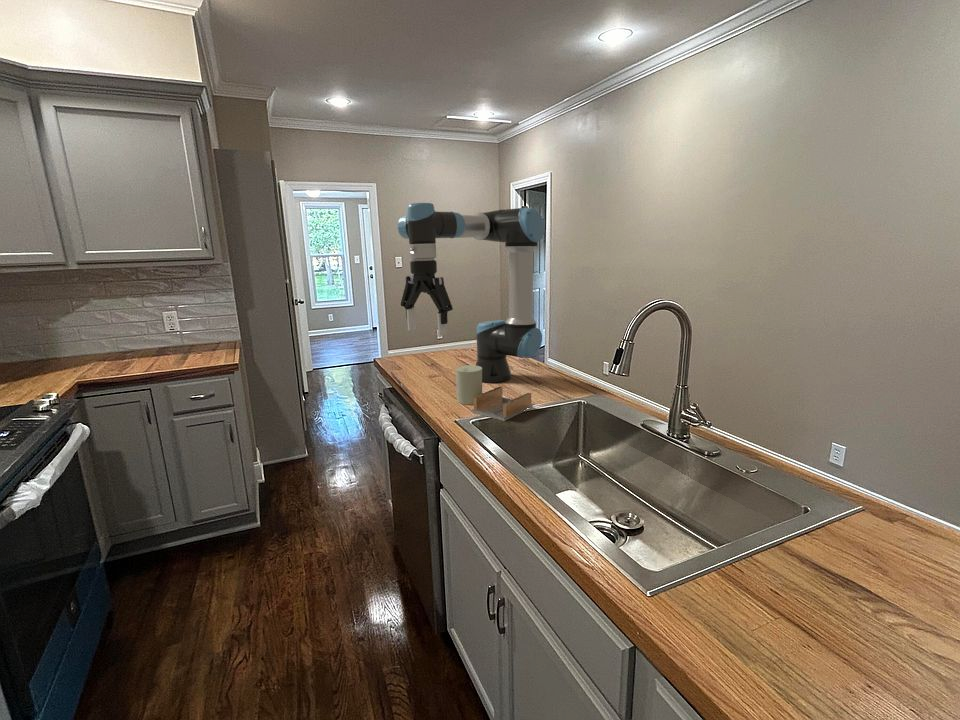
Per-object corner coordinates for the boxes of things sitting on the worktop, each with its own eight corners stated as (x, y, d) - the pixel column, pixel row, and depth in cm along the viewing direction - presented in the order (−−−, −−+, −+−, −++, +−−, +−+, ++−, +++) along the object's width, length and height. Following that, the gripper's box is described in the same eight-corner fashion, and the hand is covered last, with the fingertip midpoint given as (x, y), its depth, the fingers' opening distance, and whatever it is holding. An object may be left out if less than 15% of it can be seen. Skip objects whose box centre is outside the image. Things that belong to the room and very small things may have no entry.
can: (451, 402, 164) (450, 368, 161) (464, 394, 172) (463, 362, 169) (475, 406, 160) (474, 371, 157) (487, 398, 168) (487, 365, 165)
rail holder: (501, 399, 166) (501, 385, 165) (532, 406, 158) (533, 392, 157) (471, 412, 154) (471, 397, 153) (504, 421, 146) (504, 405, 145)
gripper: (386, 259, 142) (390, 329, 147) (443, 260, 126) (446, 339, 131) (405, 258, 148) (409, 326, 153) (463, 259, 131) (465, 335, 136)
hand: (426, 332), depth 142 cm, fingers open, 13 cm apart
